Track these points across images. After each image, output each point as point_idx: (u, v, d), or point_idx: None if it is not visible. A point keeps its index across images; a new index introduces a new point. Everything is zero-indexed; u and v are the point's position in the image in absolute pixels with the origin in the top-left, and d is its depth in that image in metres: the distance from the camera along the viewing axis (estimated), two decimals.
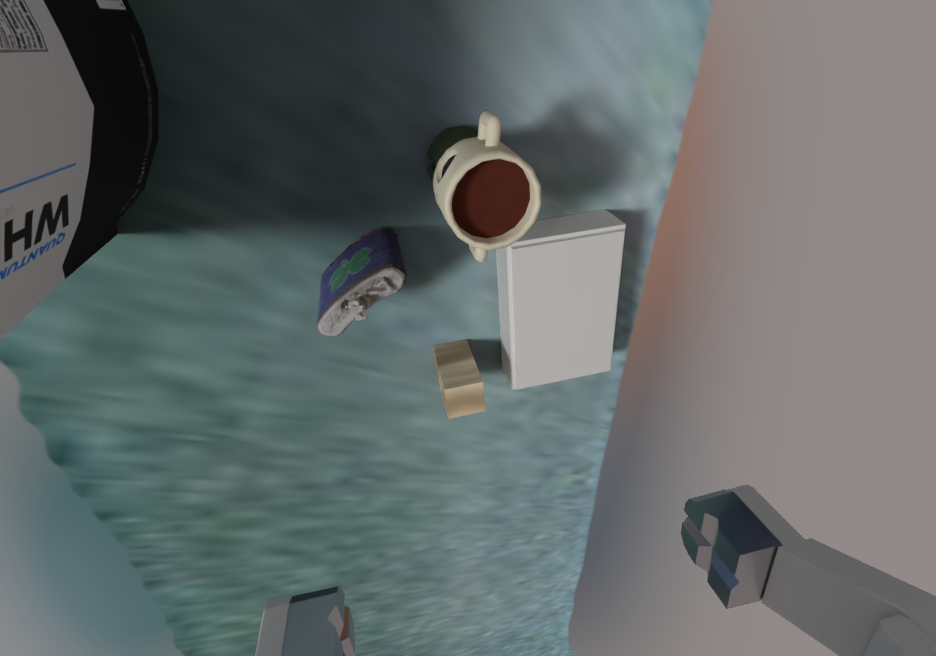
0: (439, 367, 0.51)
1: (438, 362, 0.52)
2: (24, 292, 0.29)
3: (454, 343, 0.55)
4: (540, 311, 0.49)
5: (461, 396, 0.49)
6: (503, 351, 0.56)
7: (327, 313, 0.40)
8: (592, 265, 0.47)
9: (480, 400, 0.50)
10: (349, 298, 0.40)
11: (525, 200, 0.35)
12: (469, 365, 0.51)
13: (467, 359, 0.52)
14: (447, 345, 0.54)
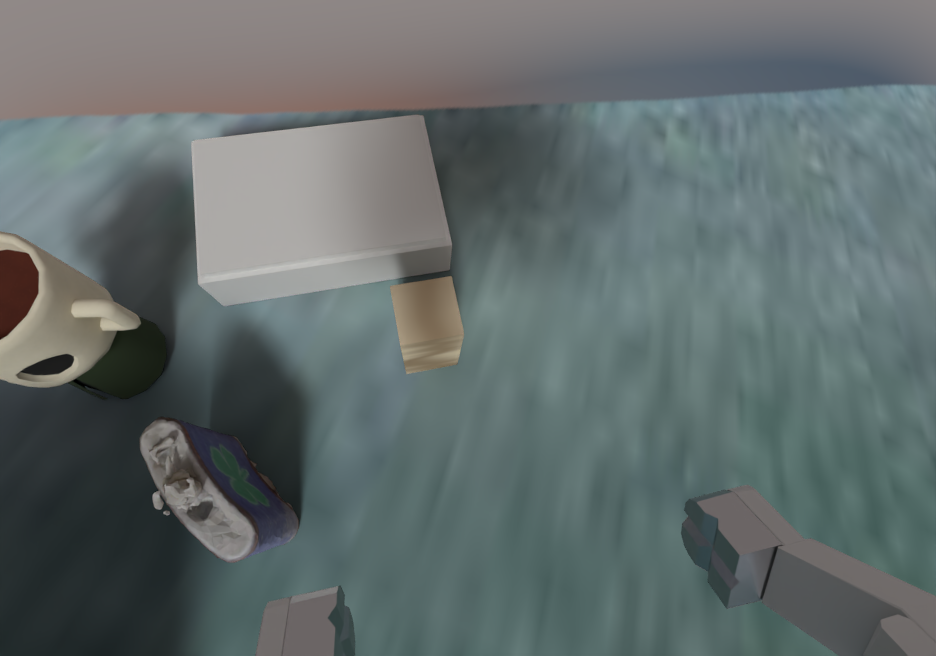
0: None
1: (404, 361, 0.34)
2: None
3: None
4: (305, 223, 0.35)
5: (416, 316, 0.30)
6: (412, 270, 0.38)
7: (207, 543, 0.24)
8: (239, 168, 0.36)
9: (429, 285, 0.31)
10: None
11: (7, 255, 0.25)
12: None
13: None
14: None
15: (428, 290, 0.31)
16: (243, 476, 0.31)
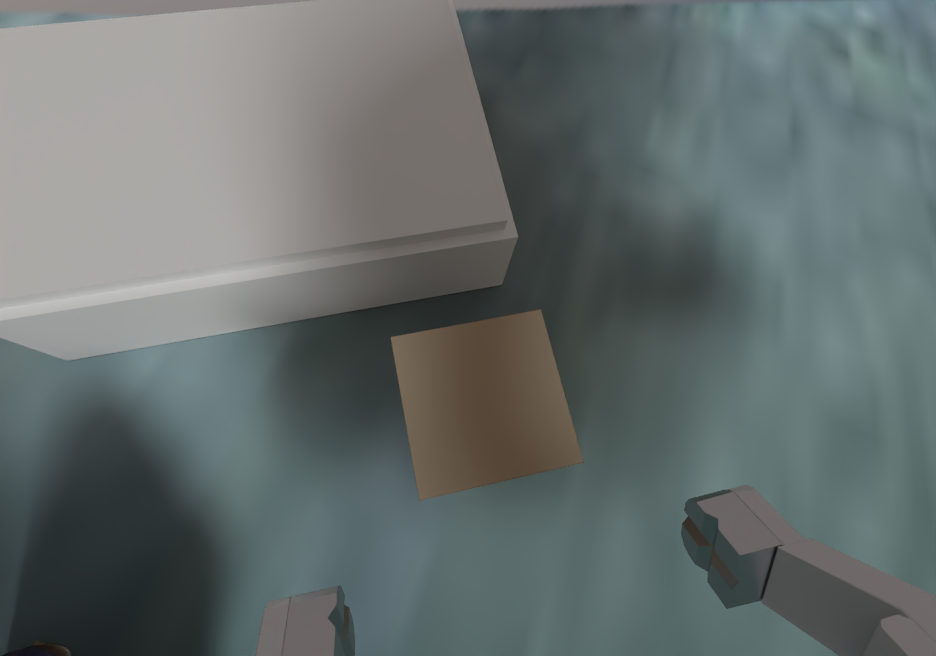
0: None
1: None
2: None
3: None
4: (211, 193, 0.16)
5: (459, 417, 0.12)
6: (434, 287, 0.20)
7: None
8: (81, 84, 0.17)
9: (488, 333, 0.12)
10: None
11: None
12: None
13: None
14: None
15: (486, 347, 0.12)
16: None
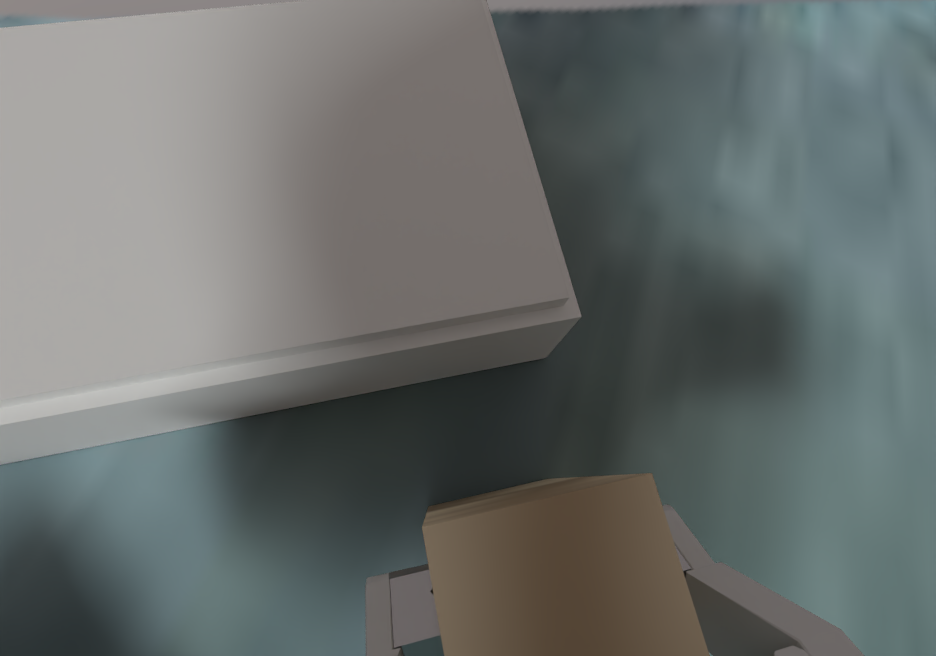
0: None
1: None
2: None
3: None
4: (167, 264, 0.12)
5: None
6: (462, 367, 0.16)
7: None
8: None
9: (573, 516, 0.08)
10: None
11: None
12: None
13: None
14: None
15: (572, 540, 0.08)
16: None
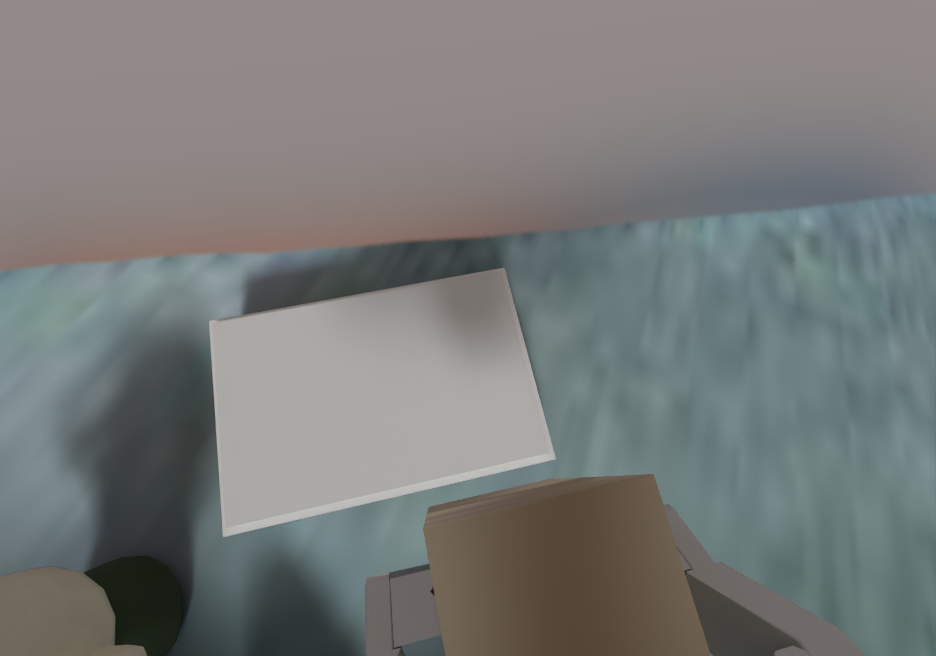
0: None
1: None
2: None
3: None
4: (363, 442, 0.26)
5: None
6: None
7: None
8: (273, 362, 0.27)
9: (574, 517, 0.08)
10: None
11: None
12: None
13: None
14: None
15: (574, 542, 0.08)
16: None
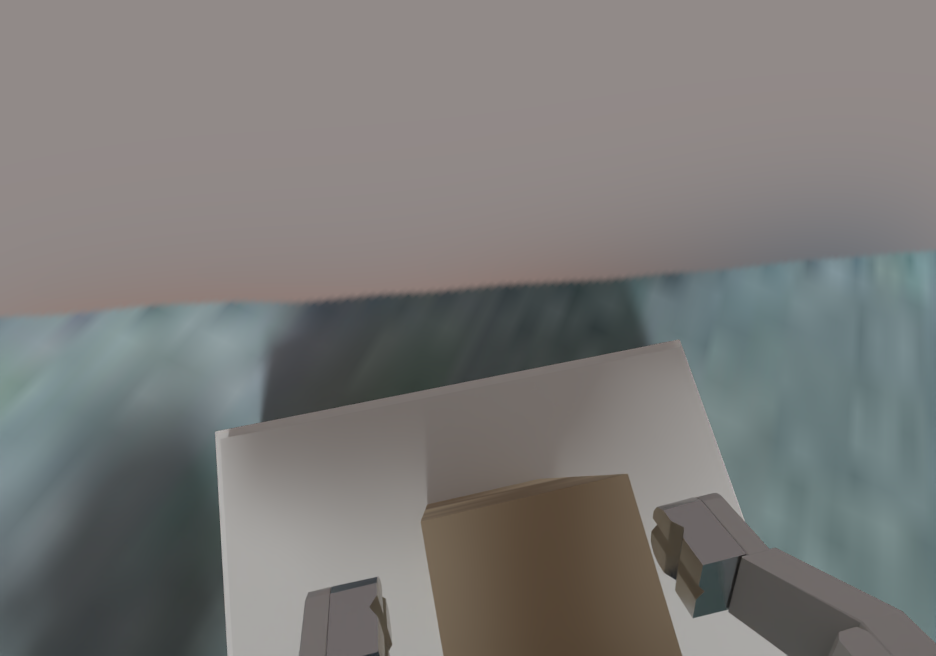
0: None
1: None
2: None
3: None
4: None
5: (521, 649, 0.08)
6: None
7: None
8: (324, 510, 0.16)
9: (556, 512, 0.09)
10: None
11: None
12: None
13: None
14: None
15: (555, 534, 0.09)
16: None
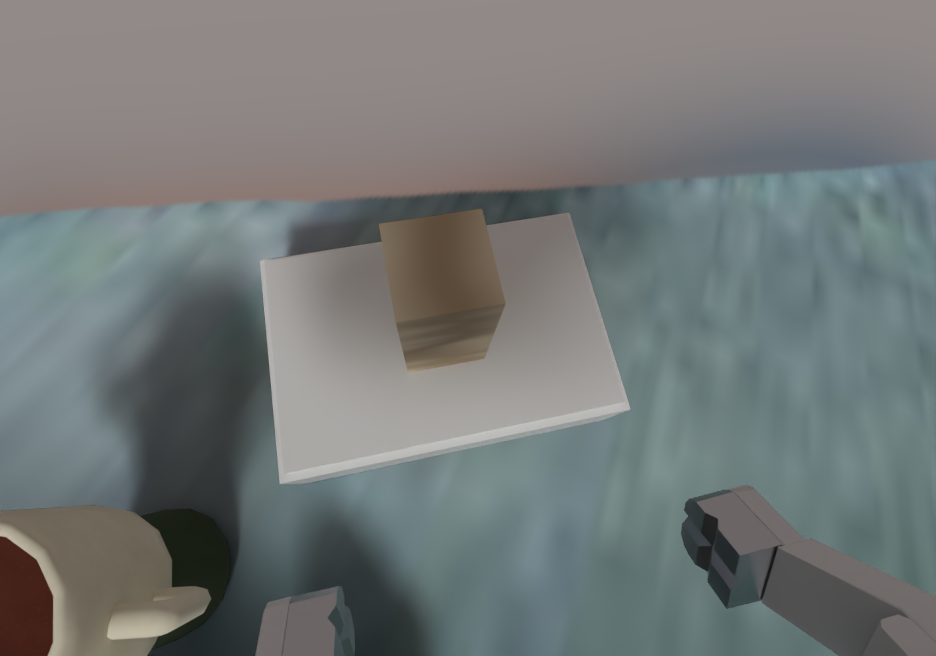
0: None
1: None
2: None
3: None
4: (427, 386, 0.24)
5: (423, 274, 0.17)
6: (559, 428, 0.28)
7: None
8: (330, 303, 0.25)
9: (444, 222, 0.18)
10: None
11: (1, 539, 0.15)
12: None
13: None
14: None
15: (443, 231, 0.18)
16: None
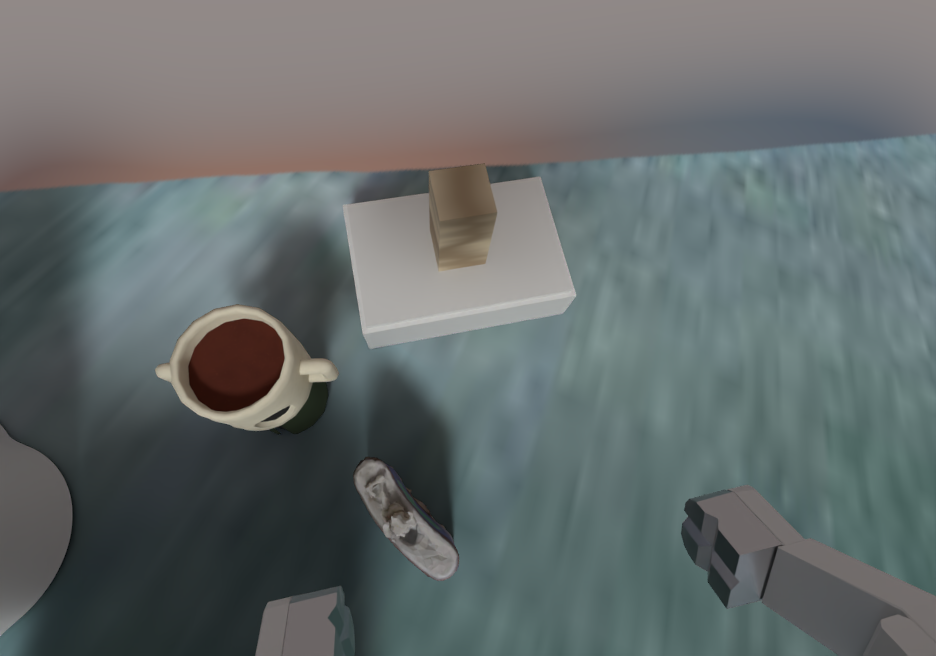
0: (439, 246, 0.36)
1: (438, 251, 0.37)
2: None
3: (432, 242, 0.40)
4: (450, 279, 0.40)
5: (453, 197, 0.33)
6: (533, 315, 0.43)
7: (420, 565, 0.29)
8: (389, 230, 0.41)
9: (464, 170, 0.33)
10: None
11: (245, 323, 0.30)
12: (430, 204, 0.36)
13: (431, 212, 0.37)
14: (434, 251, 0.40)
15: (464, 175, 0.33)
16: (414, 503, 0.35)
